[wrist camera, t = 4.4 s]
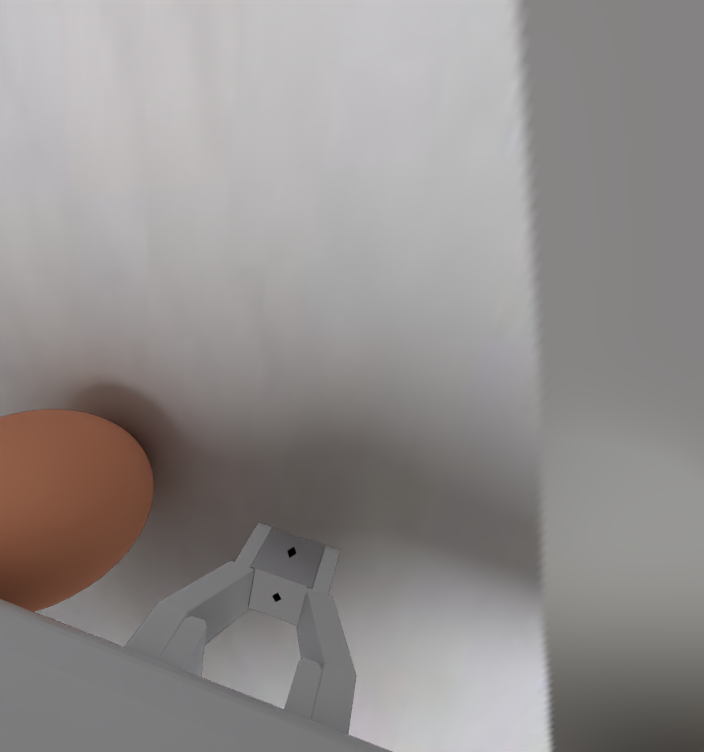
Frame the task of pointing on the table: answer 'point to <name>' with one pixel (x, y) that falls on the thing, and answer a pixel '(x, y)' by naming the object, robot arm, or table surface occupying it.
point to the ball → (66, 503)
